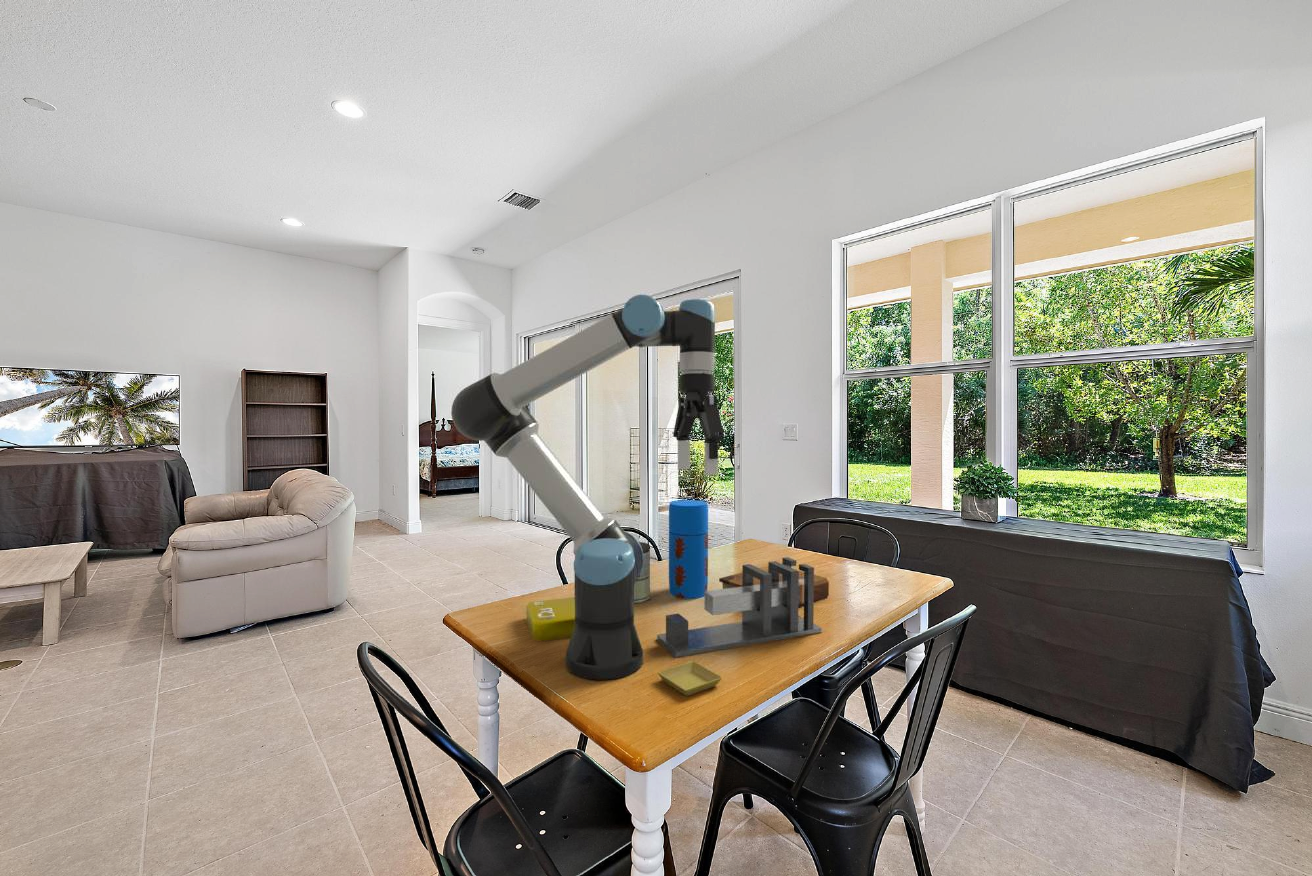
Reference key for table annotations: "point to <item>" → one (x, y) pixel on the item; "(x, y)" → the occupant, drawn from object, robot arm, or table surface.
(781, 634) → the grey slotted frame stand
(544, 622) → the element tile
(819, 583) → the diary
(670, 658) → the table surface
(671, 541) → the thermos
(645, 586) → the coffee can
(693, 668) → the saucer
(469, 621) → the table surface
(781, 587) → the light grey square rod
